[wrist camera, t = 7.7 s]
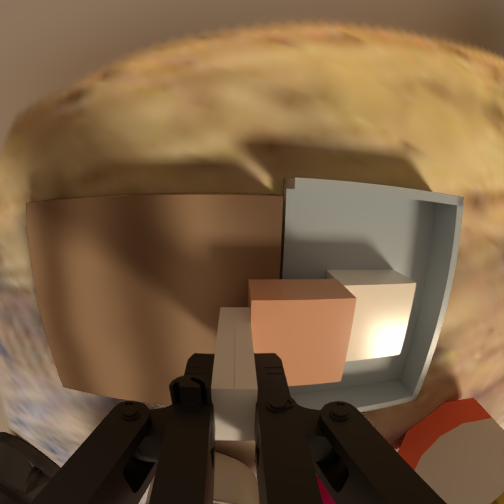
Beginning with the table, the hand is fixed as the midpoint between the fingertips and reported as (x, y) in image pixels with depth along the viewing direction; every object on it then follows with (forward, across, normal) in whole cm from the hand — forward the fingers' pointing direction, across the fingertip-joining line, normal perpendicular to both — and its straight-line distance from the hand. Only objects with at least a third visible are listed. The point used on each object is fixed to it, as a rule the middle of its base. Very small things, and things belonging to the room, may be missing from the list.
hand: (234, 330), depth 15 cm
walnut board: (+4, +6, 0) cm, 7 cm away
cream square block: (+3, -8, 0) cm, 9 cm away
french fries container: (+5, -22, +17) cm, 29 cm away
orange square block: (+1, -3, 0) cm, 3 cm away
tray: (+4, -9, 0) cm, 10 cm away
